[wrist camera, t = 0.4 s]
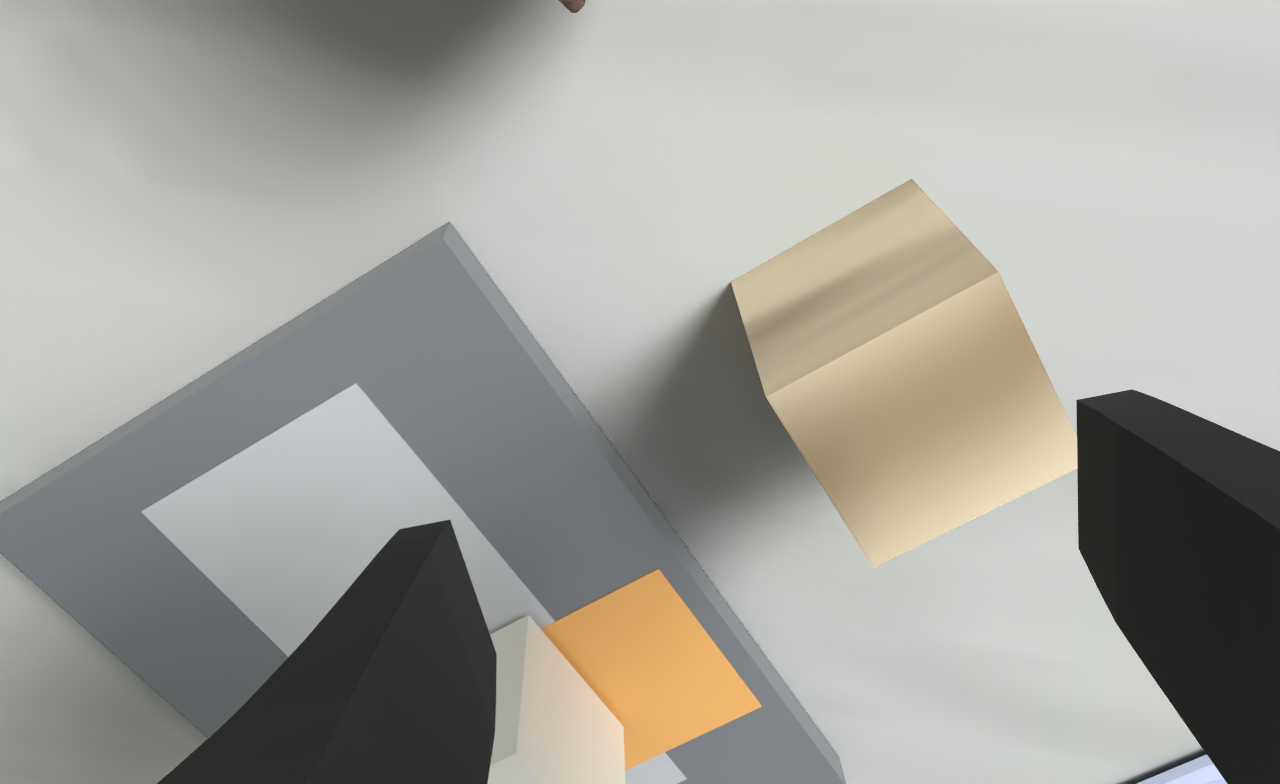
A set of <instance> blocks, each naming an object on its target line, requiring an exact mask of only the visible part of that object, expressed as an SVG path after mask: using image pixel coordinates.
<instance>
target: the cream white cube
mask: <svg viewBox="0 0 1280 784" xmlns="http://www.w3.org/2000/svg"><path fill="white" fill-rule="evenodd" d="M490 636H491V639H492V642H493V645H494V648H495V651H496V654H497V668H496V719H495V736H494V743H493V750H492V757H491V763H490V770H489V777H488V783H487V784H625V757H624V727H623V725H622V724H621V723H620V722H619V721H618V720H617V718H616V717H615V716H614V715H613V714H612V712H611V711H610V710H609V709H608V708H607V707H606V705H605V704H604V703H603V702H602V701H601V699H600V698H599V697H598V696H597V695H596V694H595V692H594V691H593V690H592V689H591V688H590V687H589V685H588V684H587V683H586V682H585V681H584V679H583V678H582V677H581V676H580V675H579V674H578V672H577V671H576V670H575V669H574V668H573V667H572V665H571V664H570V663H569V662H568V661H567V659H566V658H565V657H564V656H563V655H562V654H561V652H560V651H559V650H558V649H557V648H556V646H555V645H554V644H553V643H552V642H551V641H550V639H549V638H548V637H547V636H546V635H545V634H544V632H543V631H542V630H541V629H540V628H539V626H538V625H537V624H536V623H535V622H534V621H533V619H532V618H531V617H530V616H529V615H527V616H525V617H523V618H521V619H519V620H517V621H515V622H513V623H512V624H510V625H508V626H506V627H504V628H502V629H500V630H498V631H496V632H494V633H492V634H490Z"/></svg>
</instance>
